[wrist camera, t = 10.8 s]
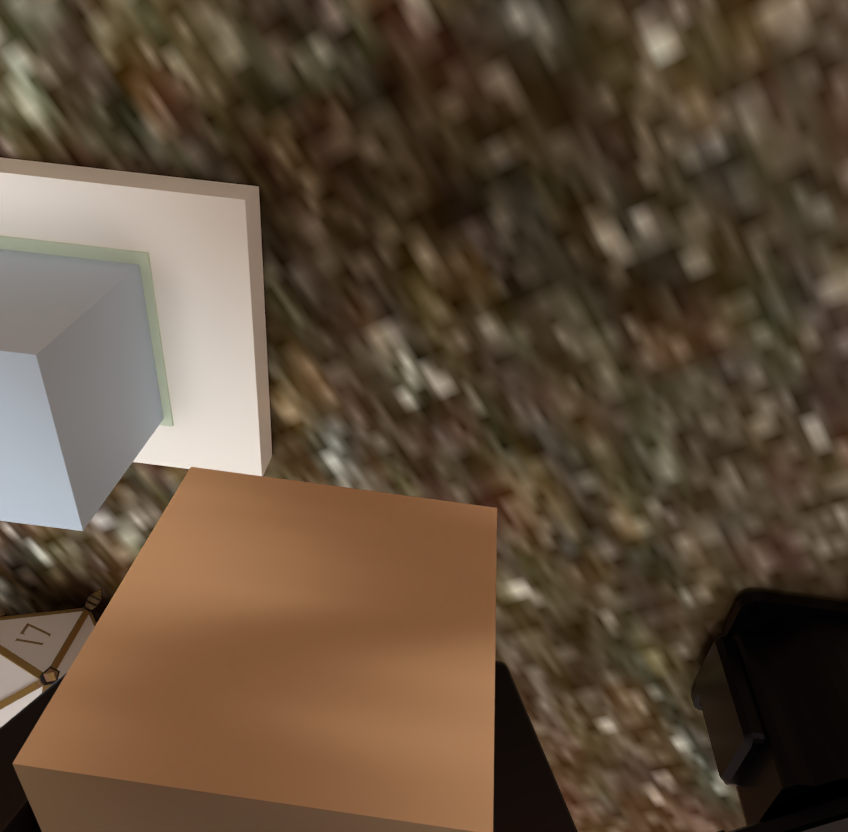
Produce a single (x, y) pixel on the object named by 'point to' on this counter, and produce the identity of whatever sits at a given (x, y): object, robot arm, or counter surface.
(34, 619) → the game die
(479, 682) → the brown cube
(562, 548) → the counter surface
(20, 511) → the grey cube
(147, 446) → the plate
